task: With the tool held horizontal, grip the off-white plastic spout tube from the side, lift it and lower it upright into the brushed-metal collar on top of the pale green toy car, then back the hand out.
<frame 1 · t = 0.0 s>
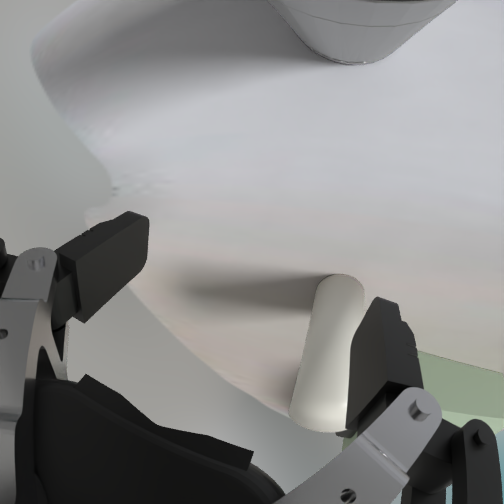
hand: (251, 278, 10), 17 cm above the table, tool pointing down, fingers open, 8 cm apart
spout tube: (340, 295, 30), on the table
pale green toy car: (425, 397, 34), on the table
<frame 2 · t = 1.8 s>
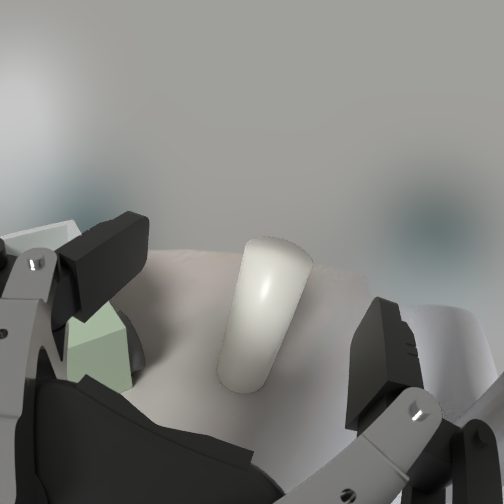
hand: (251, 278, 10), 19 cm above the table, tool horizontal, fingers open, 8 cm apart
spout tube: (241, 373, 29), on the table
pale green toy car: (23, 355, 22), on the table
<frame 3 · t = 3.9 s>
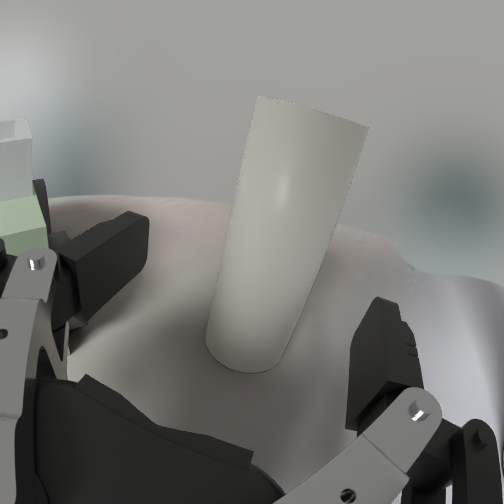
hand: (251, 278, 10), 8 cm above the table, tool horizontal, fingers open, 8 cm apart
spout tube: (244, 342, 19), on the table
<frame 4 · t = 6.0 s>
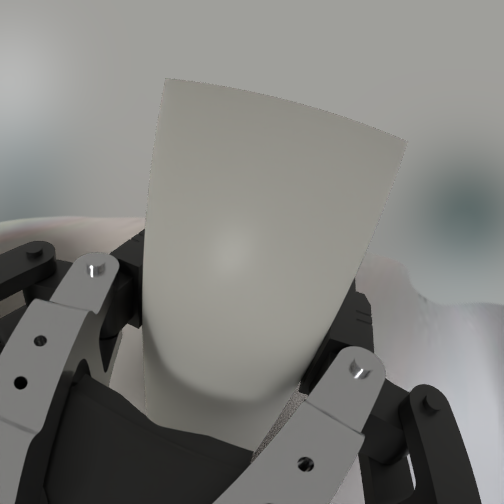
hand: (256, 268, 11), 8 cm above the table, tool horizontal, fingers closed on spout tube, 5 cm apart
spout tube: (201, 437, 12), on the table, touching gripper
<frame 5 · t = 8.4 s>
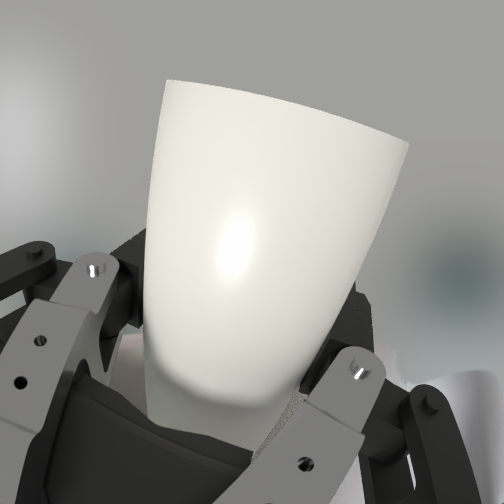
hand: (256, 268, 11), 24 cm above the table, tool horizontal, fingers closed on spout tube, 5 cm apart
spout tube: (202, 438, 12), point 15 cm above the table, touching gripper
when the fingers open (17 cm above the table, at t = 11.1 s): spout tube stays where it is, resting on pale green toy car.
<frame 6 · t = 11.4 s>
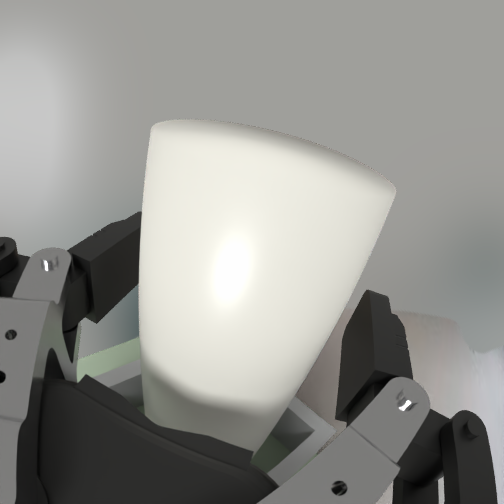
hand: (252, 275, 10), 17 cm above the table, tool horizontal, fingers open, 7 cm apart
spout tube: (198, 446, 13), point 8 cm above the table, touching pale green toy car
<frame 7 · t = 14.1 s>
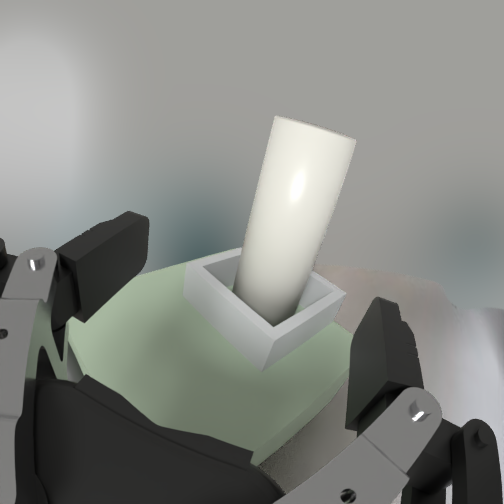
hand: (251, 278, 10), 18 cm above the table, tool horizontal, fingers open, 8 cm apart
spout tube: (260, 311, 23), point 8 cm above the table, touching pale green toy car
pale green toy car: (202, 393, 24), on the table
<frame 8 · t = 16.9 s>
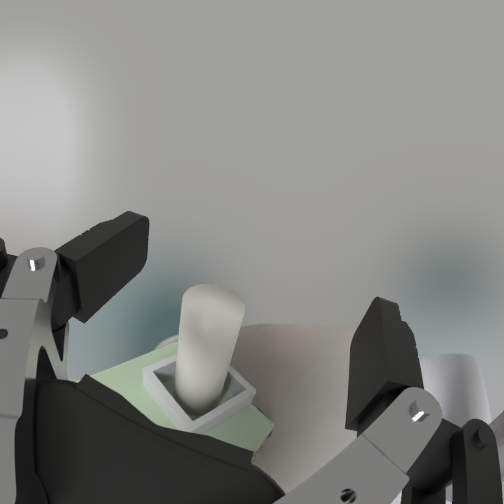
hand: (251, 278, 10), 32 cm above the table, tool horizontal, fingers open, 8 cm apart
spout tube: (196, 396, 31), point 8 cm above the table, touching pale green toy car
pale green toy car: (163, 441, 31), on the table
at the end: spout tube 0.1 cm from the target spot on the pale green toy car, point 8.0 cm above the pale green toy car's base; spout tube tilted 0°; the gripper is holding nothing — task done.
